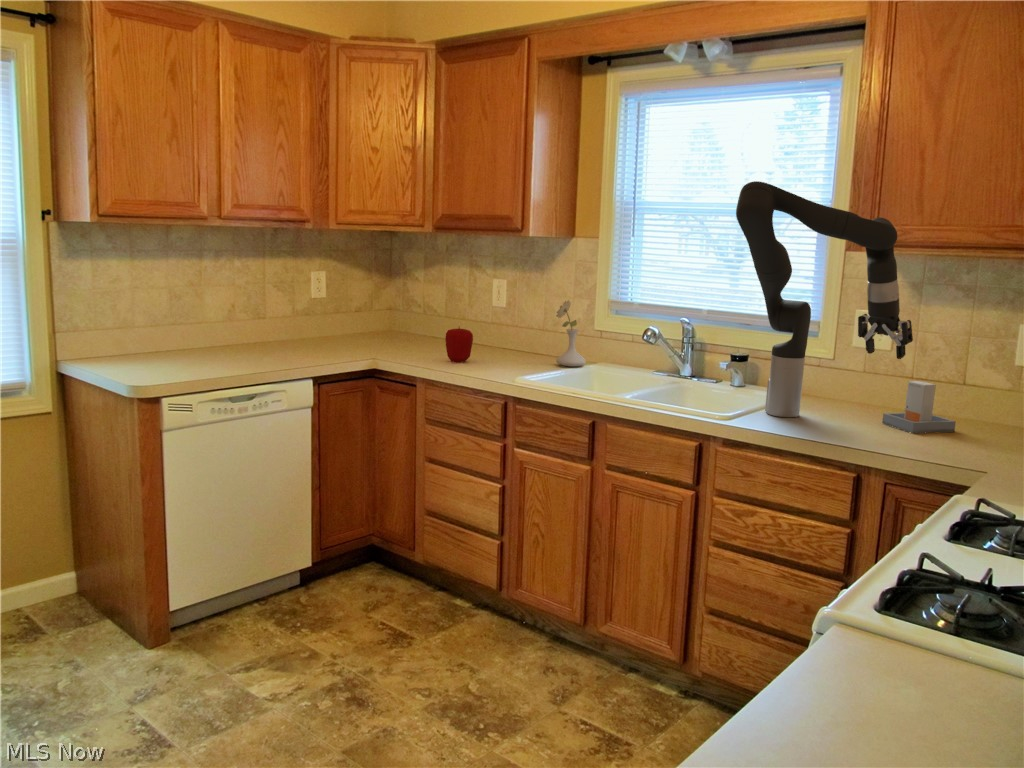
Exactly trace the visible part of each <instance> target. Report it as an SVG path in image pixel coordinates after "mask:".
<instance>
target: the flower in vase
mask: <svg viewBox="0 0 1024 768" xmlns="http://www.w3.org/2000/svg"><path fill="white" fill-rule="evenodd" d="M571 304H572V303H571V301H570V300H569V299H568V300H565V301H564V302H563V304H562V305H560V306H559V309H557V311H556V317H557V318H558V319H561V318H563V317H564V316H565V315H567V317H568V320H567V321H565V322H563V324H562V325H561V327H563V328H566V327H568V326H570V328H567V329H565V330H566V333H567V335H568V348H567V350H566V351H564V352H563V353H562V354H561V355H559V356H558V357H557V358H556V360H555V362H556V364H558V365H560V366H565V367H570V368H571V367H581V366H584V365H586V363H587V361H586V359H585V358H584V357H583V356H582V354H580V353H579V352H578V350H577V349H576V338H577V334H578V333H579V332H580V329H577V328H576V329H575V328H573V327H576V326H577V324H578V323H577V319H574V320H572V321H571V319H570V316H569V313H568V311H569V309H570V308H571Z"/></svg>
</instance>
